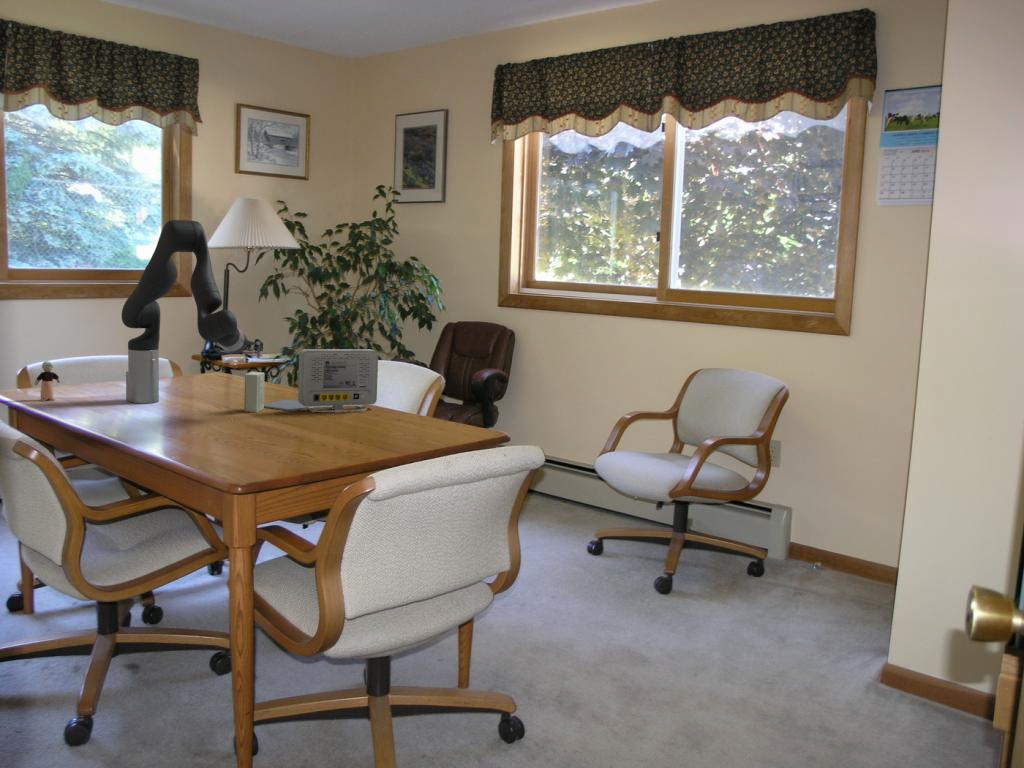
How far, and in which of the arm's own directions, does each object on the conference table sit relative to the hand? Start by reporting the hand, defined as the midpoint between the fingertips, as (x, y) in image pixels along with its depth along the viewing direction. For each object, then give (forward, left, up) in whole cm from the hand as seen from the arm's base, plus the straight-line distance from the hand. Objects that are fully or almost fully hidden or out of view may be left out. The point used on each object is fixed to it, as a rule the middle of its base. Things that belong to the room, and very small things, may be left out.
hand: (243, 350), depth 278 cm
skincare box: (+2, +3, -20) cm, 20 cm away
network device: (+22, +21, -20) cm, 36 cm away
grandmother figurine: (-58, -24, -20) cm, 66 cm away
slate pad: (+6, +16, -19) cm, 26 cm away
